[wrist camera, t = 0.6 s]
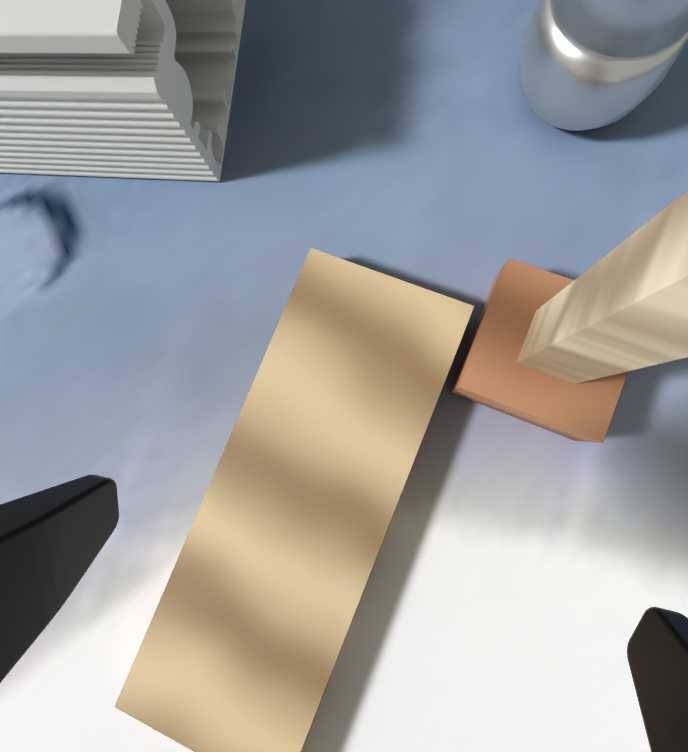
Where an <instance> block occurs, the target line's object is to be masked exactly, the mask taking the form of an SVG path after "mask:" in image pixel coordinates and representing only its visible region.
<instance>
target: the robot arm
mask: <svg viewBox="0 0 688 752" xmlns="http://www.w3.org/2000/svg"><path fill="white" fill-rule="evenodd" d="M118 518H119V509H118V498H117V486H116V483H115V481H114V480H112V479H111V478H107V477H103V476H98V475H87V476H84V477H81V478H78V479H75V480H72V481H69V482H66V483H63V484H60V485H57V486H54V487H51V488H48V489H45V490H43V491H40V492H37V493H34V494H31V495H28V496H25V497H22V498H19V499H16V500H13V501H10V502H7V503H4V504H1V505H0V683H1V681H2V680H3V679H4V678H5V676H6V675H7V674H8V673H9V672H10V670H11V669H12V668H13V667H14V665H15V664H16V663H17V662H18V661H19V659H20V658H21V657H22V656H23V654H24V653H25V652H26V651H27V649H28V648H29V647H30V646H31V645H32V643H33V642H34V641H35V640H36V638H37V637H38V636H39V635H40V633H41V632H42V631H43V630H44V629H45V627H46V626H47V625H48V624H49V622H50V621H51V620H52V619H53V617H54V616H55V615H56V613H57V612H58V611H59V610H60V608H61V607H62V605H63V604H64V603H65V601H66V600H67V598H68V597H69V596H70V594H71V593H72V591H73V590H74V588H75V587H76V585H77V584H78V582H79V581H80V580H81V578H82V577H83V575H84V574H85V572H86V571H87V569H88V568H89V566H90V565H91V563H92V562H93V560H94V559H95V557H96V556H97V555H98V553H99V552H100V550H101V549H102V547H103V546H104V544H105V543H106V541H107V540H108V538H109V537H110V535H111V534H112V532H113V531H114V529H115V527H116V525H117V522H118ZM627 655H628V662H629V666H630V670H631V673H632V677H633V681H634V685H635V689H636V693H637V697H638V701H639V705H640V709H641V713H642V717H643V721H644V725H645V729H646V733H647V737H648V741H649V745H650V749H651V752H688V618H687V617H685V616H684V615H682V614H680V613H678V612H674V611H670V610H666V609H662V608H657V607H651V608H649V609H647V610H646V611H645V613H644V614H643V616H642V618H641V620H640V622H639V624H638V625H637V627H636V629H635V631H634V633H633V634H632V636H631V638H630V640H629V643H628V647H627Z"/></svg>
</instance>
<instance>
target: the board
mask: <svg viewBox="0 0 688 752" xmlns="http://www.w3.org/2000/svg"><path fill="white" fill-rule="evenodd" d="M473 308H474V306H473V305H470V304H467V303H464V302H461V301H459V300H456V299H453V298H450V297H447V296H444V295H442V294H439V293H436V292H433V291H430V290H428V289H425V288H422V287H419V286H416V285H414V284H411V283H408V282H405V281H402V280H400V279H397V278H394V277H391V276H388V275H385V274H383V273H380V272H377V271H374V270H371V269H369V268H366V267H363V266H360V265H357V264H355V263H352V262H349V261H346V260H343V259H340V258H338V257H335V256H332V255H329V254H326V253H324V252H321V251H318V250H315V249H312V248H310V251H309V253H308V255H307V258H306V260H305V262H304V265H303V267H302V269H301V272H300V274H299V276H298V279H297V281H296V283H295V286H294V288H293V290H292V293H291V295H290V297H289V300H288V302H287V305H286V307H285V309H284V312H283V314H282V316H281V319H280V321H279V323H278V326H277V328H276V330H275V333H274V335H273V337H272V340H271V342H270V344H269V347H268V349H267V351H266V354H265V356H264V358H263V361H262V363H261V365H260V368H259V370H258V372H257V375H256V377H255V379H254V382H253V384H252V386H251V389H250V391H249V393H248V396H247V398H246V400H245V403H244V405H243V407H242V410H241V412H240V415H239V417H238V419H237V422H236V424H235V426H234V429H233V431H232V433H231V436H230V438H229V440H228V443H227V445H226V447H225V450H224V452H223V454H222V457H221V459H220V461H219V464H218V466H217V468H216V471H215V473H214V475H213V478H212V480H211V482H210V485H209V487H208V489H207V492H206V494H205V496H204V499H203V501H202V503H201V506H200V508H199V510H198V513H197V515H196V517H195V520H194V522H193V525H192V527H191V529H190V532H189V534H188V536H187V539H186V541H185V543H184V546H183V548H182V550H181V553H180V555H179V557H178V560H177V562H176V564H175V567H174V569H173V571H172V574H171V576H170V578H169V581H168V583H167V585H166V588H165V590H164V592H163V595H162V597H161V599H160V602H159V604H158V606H157V609H156V611H155V613H154V616H153V618H152V620H151V623H150V625H149V627H148V630H147V632H146V634H145V637H144V639H143V642H142V644H141V646H140V649H139V651H138V653H137V656H136V658H135V660H134V663H133V665H132V667H131V670H130V672H129V674H128V677H127V679H126V681H125V684H124V686H123V688H122V691H121V693H120V695H119V698H118V700H117V702H116V705H115V707H116V708H118V709H119V710H121V711H123V712H125V713H126V714H128V715H130V716H132V717H134V718H135V719H137V720H139V721H141V722H142V723H144V724H146V725H148V726H150V727H151V728H153V729H155V730H157V731H158V732H160V733H162V734H164V735H166V736H167V737H169V738H171V739H173V740H174V741H176V742H178V743H180V744H182V745H183V746H185V747H187V748H189V749H190V750H192V751H194V752H301V750H302V747H303V744H304V742H305V739H306V737H307V734H308V732H309V729H310V726H311V724H312V721H313V719H314V716H315V714H316V711H317V708H318V706H319V703H320V701H321V698H322V696H323V693H324V690H325V688H326V685H327V683H328V680H329V678H330V675H331V673H332V670H333V667H334V665H335V662H336V660H337V657H338V655H339V652H340V649H341V647H342V644H343V642H344V639H345V637H346V634H347V631H348V629H349V626H350V624H351V621H352V619H353V616H354V614H355V611H356V608H357V606H358V603H359V601H360V598H361V596H362V593H363V590H364V588H365V585H366V583H367V580H368V578H369V575H370V572H371V570H372V567H373V565H374V562H375V560H376V557H377V554H378V552H379V549H380V547H381V544H382V542H383V539H384V537H385V534H386V531H387V529H388V526H389V524H390V521H391V519H392V516H393V513H394V511H395V508H396V506H397V503H398V501H399V498H400V495H401V493H402V490H403V488H404V485H405V483H406V480H407V478H408V475H409V472H410V470H411V467H412V465H413V462H414V460H415V457H416V454H417V452H418V449H419V447H420V444H421V442H422V439H423V436H424V434H425V431H426V429H427V426H428V424H429V421H430V418H431V416H432V413H433V411H434V408H435V406H436V403H437V401H438V398H439V395H440V393H441V390H442V388H443V385H444V383H445V380H446V377H447V375H448V372H449V370H450V367H451V365H452V362H453V359H454V357H455V354H456V352H457V349H458V347H459V344H460V341H461V339H462V336H463V334H464V331H465V329H466V326H467V324H468V321H469V318H470V316H471V313H472V311H473Z"/></svg>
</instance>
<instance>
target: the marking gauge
mask: <svg viewBox="0 0 688 752" xmlns="http://www.w3.org/2000/svg"><path fill="white" fill-rule="evenodd" d="M686 357H688V191H686V192H685V193H684V194H683V195H681V196H680V197H679V198H678V199H676V200H675V201H674V202H673V203H671V204H670V205H669V206H667V207H666V208H665V209H664V210H662V211H661V212H660V213H659V214H657V215H656V216H655V217H654V218H652V219H651V220H650V221H649V222H647V223H646V224H645V225H644V226H642V227H641V228H640V229H638V230H637V231H636V232H635V233H633V234H632V235H631V236H630V237H628V238H627V239H626V240H625V241H623V242H622V243H621V244H620V245H618V246H617V247H616V248H614V249H613V250H612V251H611V252H609V253H608V254H607V255H606V256H604V257H603V258H602V259H601V260H599V261H598V262H597V263H596V264H594V265H593V266H592V267H590V268H589V269H588V270H587V271H585V272H584V273H583V274H582V275H580V276H579V277H578V278H577V279H575V280H572V279H569V278H566V277H563V276H560V275H557V274H554V273H551V272H548V271H545V270H542V269H539V268H536V267H533V266H530V265H527V264H524V263H521V262H518V261H515V260H512V259H508V261H507V262H506V263H505V265H504V266H503V268H502V269H501V270H500V272H499V273H498V275H497V276H496V277H495V279H494V281H493V284H492V286H491V289H490V292H489V294H488V297H487V299H486V302H485V305H484V307H483V310H482V312H481V315H480V317H479V320H478V323H477V325H476V328H475V330H474V333H473V335H472V338H471V341H470V343H469V346H468V348H467V351H466V354H465V356H464V359H463V361H462V364H461V366H460V369H459V372H458V374H457V377H456V379H455V382H454V384H453V387H452V390H451V393H454V394H457V395H459V396H462V397H464V398H467V399H469V400H472V401H475V402H477V403H480V404H482V405H485V406H487V407H490V408H493V409H495V410H498V411H500V412H503V413H505V414H508V415H511V416H513V417H516V418H518V419H521V420H524V421H526V422H529V423H531V424H534V425H536V426H539V427H542V428H544V429H547V430H549V431H552V432H554V433H557V434H560V435H562V436H565V437H567V438H570V439H572V440H575V441H588V442H603V441H604V438H605V436H606V433H607V430H608V427H609V424H610V421H611V419H612V416H613V413H614V410H615V407H616V405H617V402H618V399H619V396H620V393H621V390H622V388H623V385H624V382H625V379H626V376H627V373H628V371H632V370H636V369H640V368H644V367H648V366H653V365H657V364H661V363H665V362H669V361H674V360H678V359H682V358H686Z"/></svg>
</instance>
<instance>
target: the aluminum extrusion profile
mask: <svg viewBox="0 0 688 752" xmlns="http://www.w3.org/2000/svg"><path fill="white" fill-rule="evenodd" d="M245 4H246V0H0V173H16V174H41V175H67V176H93V177H118V178H144V179H169V180H195V181H220V177H221V171H222V164H223V157H224V150H225V143H226V136H227V129H228V122H229V115H230V108H231V101H232V94H233V87H234V80H235V73H236V66H237V59H238V52H239V45H240V38H241V31H242V24H243V18H244V11H245Z"/></svg>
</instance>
